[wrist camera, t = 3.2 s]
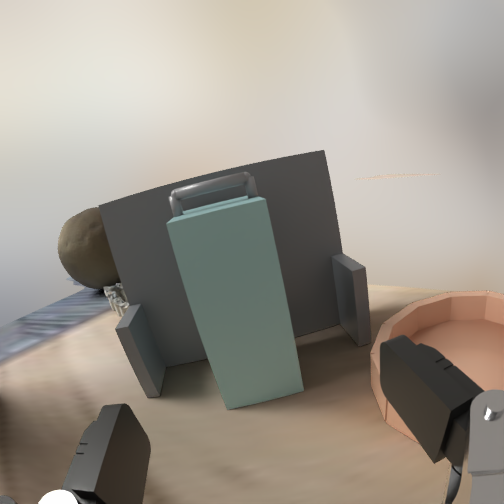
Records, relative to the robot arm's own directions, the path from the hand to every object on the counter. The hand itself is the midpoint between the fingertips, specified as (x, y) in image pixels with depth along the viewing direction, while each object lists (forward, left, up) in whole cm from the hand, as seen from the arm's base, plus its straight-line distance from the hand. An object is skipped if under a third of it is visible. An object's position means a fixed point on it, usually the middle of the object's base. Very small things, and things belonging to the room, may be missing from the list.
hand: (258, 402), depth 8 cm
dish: (+7, +11, -7) cm, 15 cm away
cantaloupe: (-47, +19, -7) cm, 51 cm away
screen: (-8, +10, -7) cm, 15 cm away
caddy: (-7, +8, -7) cm, 13 cm away
